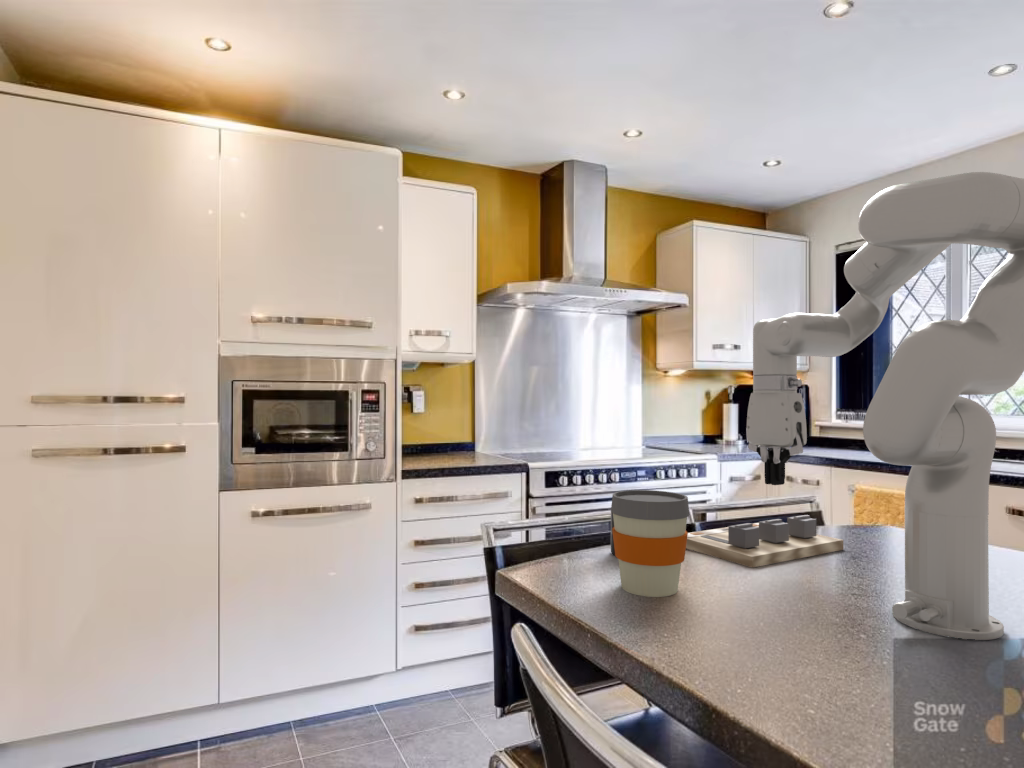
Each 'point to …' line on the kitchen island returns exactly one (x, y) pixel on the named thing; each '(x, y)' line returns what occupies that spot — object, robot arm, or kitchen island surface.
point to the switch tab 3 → (802, 526)
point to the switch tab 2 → (774, 531)
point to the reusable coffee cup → (650, 540)
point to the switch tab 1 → (743, 535)
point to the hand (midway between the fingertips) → (774, 483)
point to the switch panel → (760, 547)
